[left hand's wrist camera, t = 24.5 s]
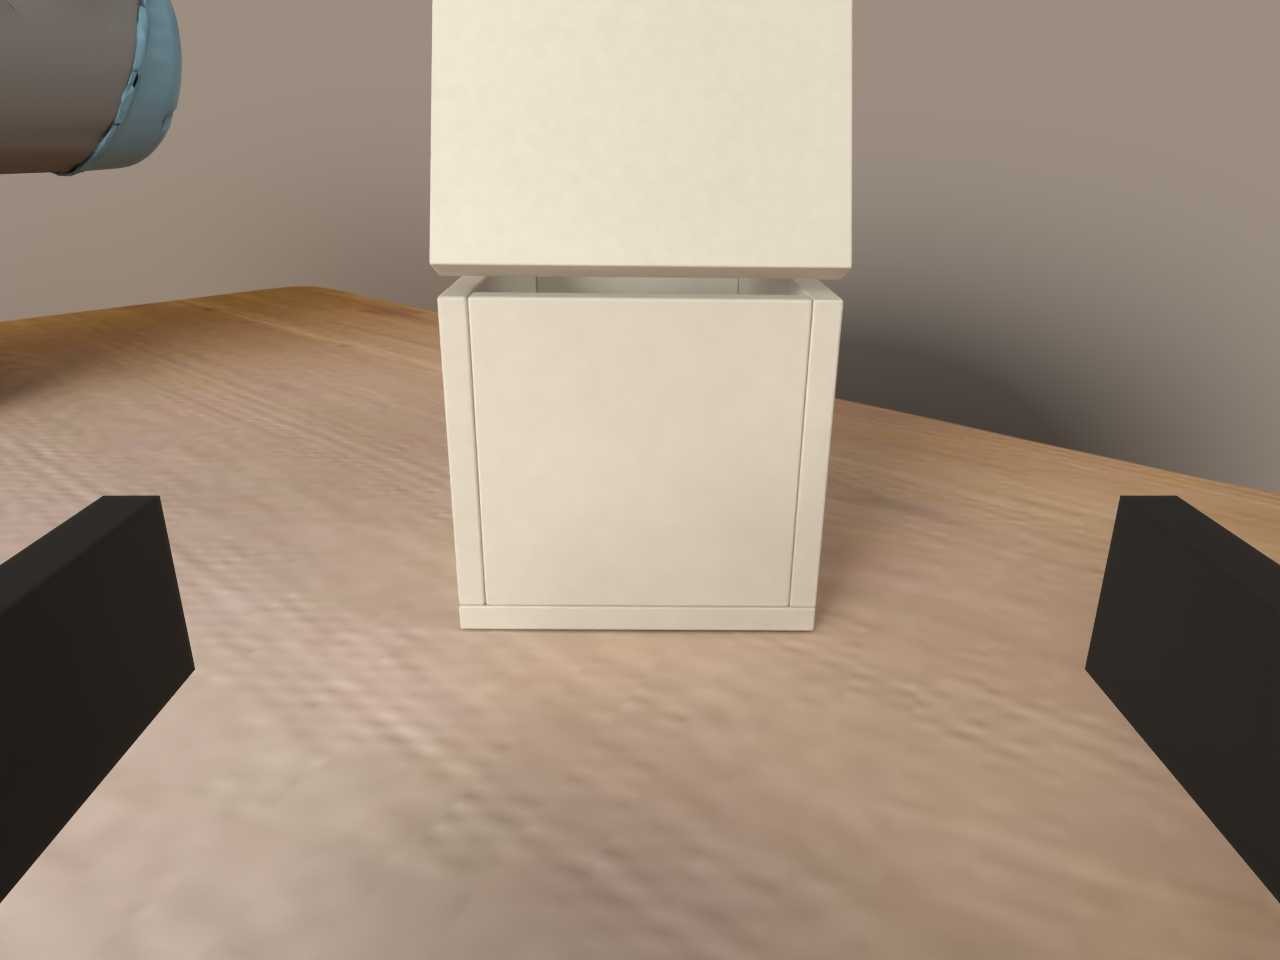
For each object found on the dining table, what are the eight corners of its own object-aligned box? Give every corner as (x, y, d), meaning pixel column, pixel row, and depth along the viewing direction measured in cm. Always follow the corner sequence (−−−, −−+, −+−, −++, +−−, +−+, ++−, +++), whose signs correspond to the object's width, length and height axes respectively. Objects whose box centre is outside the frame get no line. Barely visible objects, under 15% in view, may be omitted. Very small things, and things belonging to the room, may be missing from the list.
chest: (526, 439, 41) (518, 227, 38) (745, 440, 41) (757, 229, 38) (460, 629, 25) (436, 296, 22) (813, 631, 26) (844, 300, 22)
